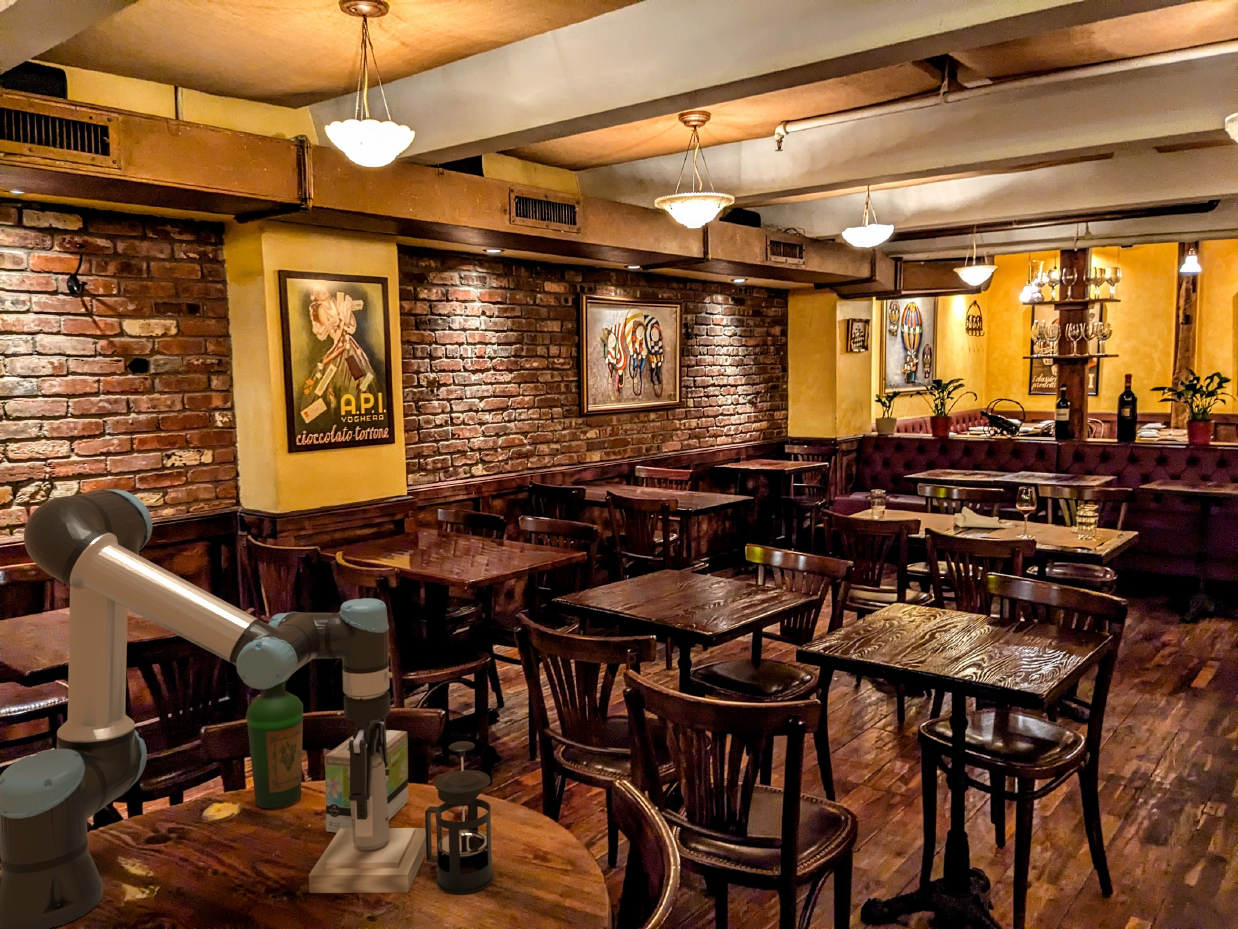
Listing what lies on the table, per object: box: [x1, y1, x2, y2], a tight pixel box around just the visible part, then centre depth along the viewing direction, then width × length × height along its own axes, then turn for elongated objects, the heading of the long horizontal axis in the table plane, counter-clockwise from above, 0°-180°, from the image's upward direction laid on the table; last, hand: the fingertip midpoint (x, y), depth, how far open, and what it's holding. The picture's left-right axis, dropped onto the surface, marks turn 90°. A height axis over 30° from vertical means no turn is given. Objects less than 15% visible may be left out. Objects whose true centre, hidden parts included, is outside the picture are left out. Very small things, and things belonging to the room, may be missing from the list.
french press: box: [424, 740, 495, 896], centre depth 152 cm, size 12×9×23 cm
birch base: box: [308, 827, 426, 894], centre depth 157 cm, size 16×16×4 cm
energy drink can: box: [348, 752, 390, 850], centre depth 157 cm, size 6×6×15 cm
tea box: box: [324, 729, 409, 834], centre depth 176 cm, size 15×10×15 cm, turn 168°
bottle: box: [245, 677, 304, 810], centre depth 183 cm, size 11×11×28 cm
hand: (371, 824), depth 157 cm, fingers open, 7 cm apart
